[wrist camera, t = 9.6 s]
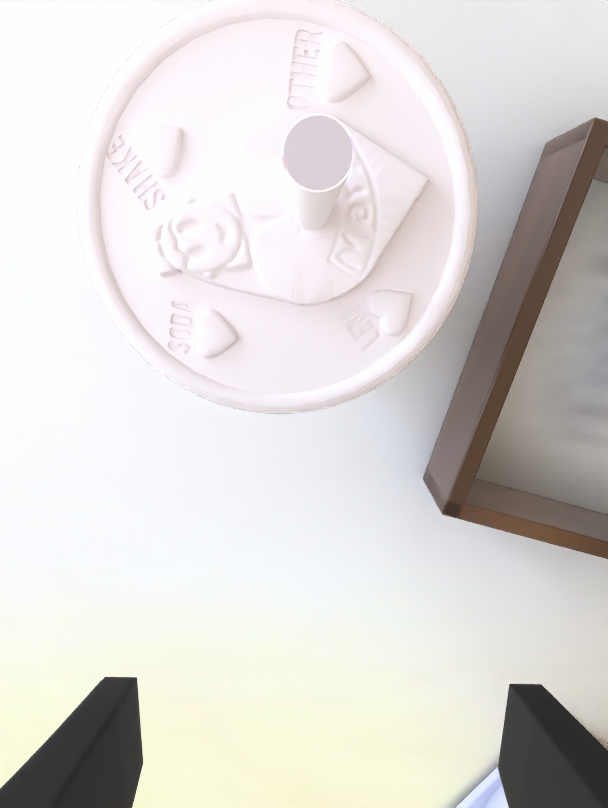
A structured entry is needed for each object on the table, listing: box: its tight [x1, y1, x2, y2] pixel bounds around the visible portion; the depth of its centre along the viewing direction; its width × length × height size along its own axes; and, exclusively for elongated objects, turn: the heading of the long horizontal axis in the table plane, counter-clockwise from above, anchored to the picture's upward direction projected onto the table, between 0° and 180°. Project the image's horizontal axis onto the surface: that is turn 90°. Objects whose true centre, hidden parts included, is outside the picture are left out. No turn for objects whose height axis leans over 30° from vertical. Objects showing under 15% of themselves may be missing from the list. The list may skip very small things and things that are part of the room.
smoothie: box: [77, 0, 478, 414], centre depth 11 cm, size 6×6×14 cm
